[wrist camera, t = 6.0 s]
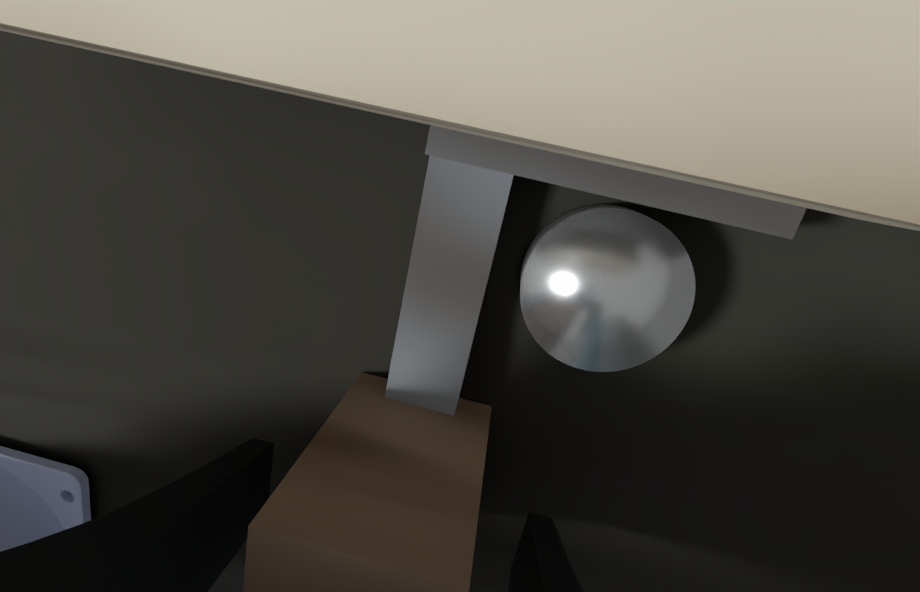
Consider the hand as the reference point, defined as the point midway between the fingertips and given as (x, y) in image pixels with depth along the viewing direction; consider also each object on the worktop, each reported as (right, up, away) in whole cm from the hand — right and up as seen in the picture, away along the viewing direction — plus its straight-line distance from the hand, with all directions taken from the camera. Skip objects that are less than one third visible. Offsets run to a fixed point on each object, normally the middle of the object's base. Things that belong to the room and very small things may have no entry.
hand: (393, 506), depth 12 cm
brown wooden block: (+4, +4, 0) cm, 5 cm away
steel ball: (+5, +6, 0) cm, 8 cm away
